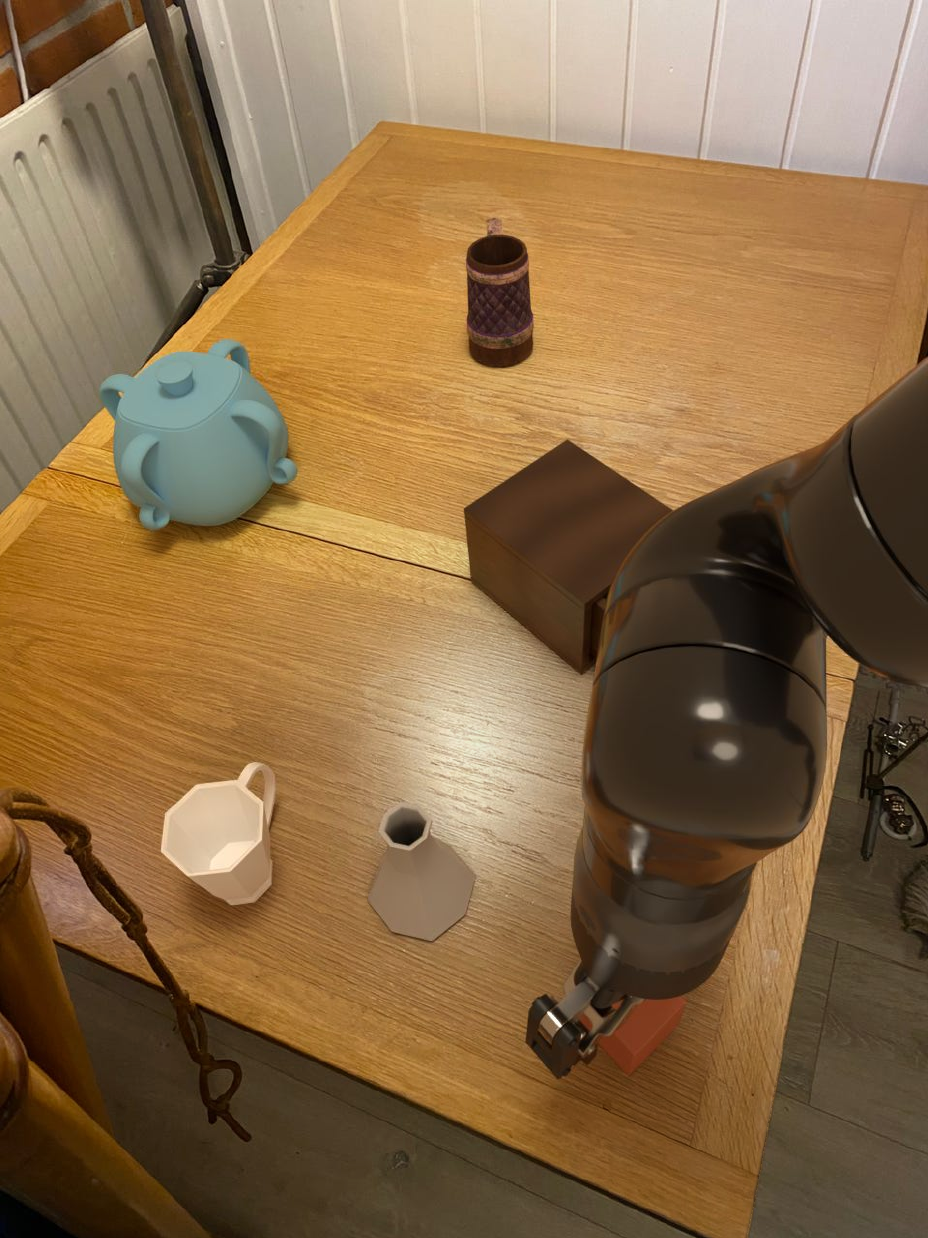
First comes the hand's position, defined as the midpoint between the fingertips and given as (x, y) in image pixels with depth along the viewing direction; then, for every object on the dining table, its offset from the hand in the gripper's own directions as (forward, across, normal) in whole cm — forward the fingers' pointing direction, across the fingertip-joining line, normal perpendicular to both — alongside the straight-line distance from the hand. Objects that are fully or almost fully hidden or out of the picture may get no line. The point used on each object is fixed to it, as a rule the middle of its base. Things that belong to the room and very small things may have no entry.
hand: (629, 995), depth 56 cm
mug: (+6, +42, +58) cm, 72 cm away
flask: (+6, -4, +15) cm, 17 cm away
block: (+6, 0, 0) cm, 6 cm away
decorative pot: (+6, +7, +61) cm, 62 cm away
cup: (+6, -11, +26) cm, 29 cm away
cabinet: (+6, +23, +27) cm, 36 cm away
